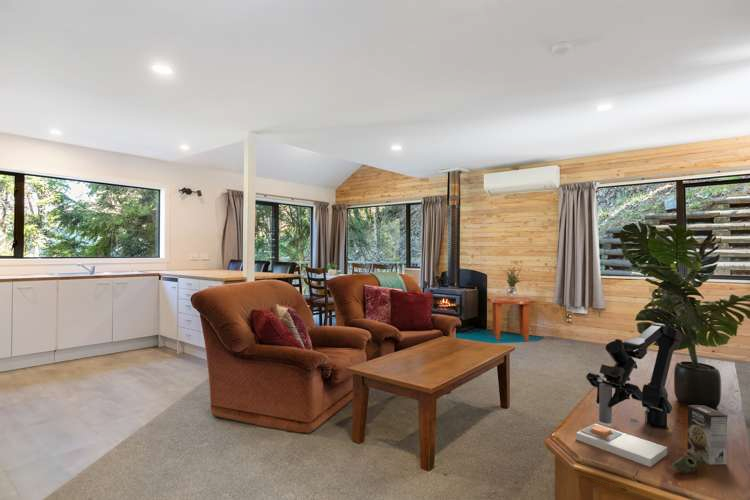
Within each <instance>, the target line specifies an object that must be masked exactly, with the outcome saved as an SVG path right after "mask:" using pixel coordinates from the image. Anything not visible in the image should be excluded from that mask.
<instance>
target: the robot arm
mask: <svg viewBox="0 0 750 500" xmlns="http://www.w3.org/2000/svg"><path fill="white" fill-rule="evenodd" d="M683 338H684V336H683V333H682V332H681V331H680V330H679V329H675V328H672V327H671V326H668V325H666V324H664V323H659V322H658V323H657V322H653V323H650V326H649V327H648V328H647V329H645V330H644V331H642V332H641V333H640V334H639V335H637V337H634V338H629V339H627V340H625V341H623V340H622V339H618V338H616V339H615V340H614V341H610V342H608V343H606V345H605V350H606V352H607V354H608V355H609V356H610V358H611V359H612V361H613V362H615V364H614V365H611V366H610V365H606V364H604V363H603V364H601V365H600V369H599V374H602V375H603V377H604V379H603V378H602V377H601V376H600V375H599V374H597V373H595V372H588V373H587V374H586V375H585V378H586V380H587V382H589V384H590V385H591V386H592V387H594V388H597V389H596V391H597V392H596V400H595V401H596V404H598V405H599V384H601V383H605V384H610V385H612V389H614V392H613V394H612V398H611V400H610V402H609V404H608V407H609V408H611V407H612V408H613V407H614V406H616V405H618V404H620V403H622V402H624V401H626V400H630V399H631V398H632V400H635V401H639V402H641V405H642V407H643V408H646V410H645V411H644V422H645V423H646V424H647V425H648V426H649V427H651V428H658V429H659V428H660V429H669V426H668V415H670V414H671V413H672V410H673V405H672V404H671V403H670V401H669V400H668V397H669V395H668V392H667V389H666V383H667V379H668V376H669V369H670V366H671V362H672V357H673V354H674V352H676V350H677V349H679V347H680V346H681V342H683ZM655 342H656V344H657V346H658V349H657V354H656V357H655V360H654V361H655V362H654V366H653V369H652V370H653V371H652V374H651V378H650V381H649V382H648V383H647V384H643V386H642V390H641V389H640V387H639V386H638V385H637V384H632V383H629V382H630V381H631V378H630V376H631V374H632V372H633V370H634V369H635V370H636V369H638V365H637V361H636V360H642V359H644V358H645V356H646V355H647V354H648V348H649V347H650V346H651V345H653V344H654V343H655ZM634 359H636V360H634ZM605 379H606V380H605ZM630 396H631V398H630Z"/></svg>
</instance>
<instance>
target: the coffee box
mask: <svg viewBox="0 0 750 500" xmlns="http://www.w3.org/2000/svg"><path fill="white" fill-rule="evenodd" d="M686 439H687V444H686V445H687V446H686V450H687V451H686V452H687V453H689V454H690V455H691V456H699V457H702V458H703V460H702V462H705V463H706V464H707V465H711V466H713V465H727V449H728V448H727V445H728V444H727V443H728V442H727V441H728V414H725V413H722V412H720V411H718V410H716V409H713V408H712V407H709V406H707V405H703V404H702V405H700V404H691V405H687V437H686Z"/></svg>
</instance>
